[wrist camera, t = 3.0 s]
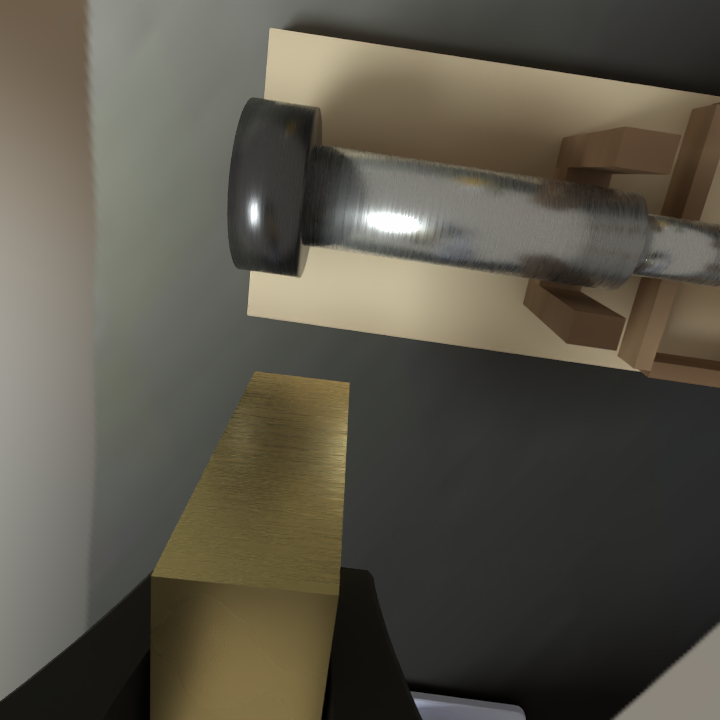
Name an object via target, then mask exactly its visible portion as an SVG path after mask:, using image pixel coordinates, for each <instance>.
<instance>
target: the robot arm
mask: <svg viewBox="0 0 720 720" xmlns="http://www.w3.org/2000/svg"><path fill="white" fill-rule="evenodd" d="M153 571H154V570H153ZM153 571H152V572H151V573H150V574H149V575H148V576H147V577H146V578H145V579H144V580H143V581H141V582H140V583H139V584H138V585H137V586H136V587H135V588H134V589H133V590H132V591H131V592H130V593H129V594H128V595H127V596H125V597H124V598H123V599H122V600H121V601H120V602H119V603H118V604H117V605H116V606H115V607H113V608H112V609H111V610H110V611H109V612H108V613H107V614H106V615H104V616H103V617H102V618H101V619H100V620H99V621H98V622H97V623H95V624H94V625H93V626H92V627H91V628H90V629H89V630H88V631H86V632H85V633H84V634H83V635H82V636H81V637H80V638H78V639H77V640H76V641H75V642H74V643H72V644H71V645H70V646H69V647H68V648H67V649H65V650H64V651H63V652H62V653H60V654H59V655H58V656H57V657H55V658H54V659H53V660H52V661H51V662H49V663H48V664H47V665H46V666H44V667H43V668H42V669H41V670H39V671H38V672H37V673H36V674H34V675H33V676H32V677H31V678H30V679H28V680H27V681H26V682H25V683H23V684H22V685H21V686H19V687H18V688H17V689H16V690H14V691H13V692H12V693H10V694H9V695H8V696H6V697H5V698H4V699H3V700H1V701H0V720H150V646H151V575H152V573H153ZM321 720H526V718H525V714H524V711H523V709H522V708H520V707H519V706H516V705H510V704H503V703H495V702H488V701H480V700H473V699H465V698H457V697H450V696H442V695H435V694H427V693H420V692H412V691H410V690H409V687H408V685H407V682H406V680H405V677H404V675H403V672H402V670H401V667H400V664H399V662H398V659H397V657H396V654H395V652H394V649H393V646H392V643H391V640H390V638H389V635H388V631H387V628H386V625H385V622H384V619H383V616H382V612H381V609H380V606H379V602H378V598H377V594H376V589H375V585H374V578H373V576H372V575H371V574H370V573H369V571H367V570H360V569H352V568H344V567H340V581H339V598H338V605H337V611H336V618H335V625H334V632H333V639H332V646H331V653H330V660H329V667H328V674H327V681H326V688H325V695H324V702H323V709H322V716H321Z"/></svg>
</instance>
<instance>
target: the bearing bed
mask: <svg viewBox="0 0 720 720" xmlns="http://www.w3.org/2000/svg"><path fill="white" fill-rule="evenodd" d="M264 99H268V100H274V101H281V102H288V103H294V104H301V105H307V106H314V107H319V108H320V110H321V116H322V145H326V146H333V147H339V148H346V149H353V150H359V151H366V152H373V153H380V154H386V155H393V156H400V157H406V158H413V159H420V160H426V161H433V162H440V163H446V164H453V165H460V166H467V167H473V168H480V169H487V170H493V171H500V172H507V173H513V174H520V175H527V176H533V177H540V178H547V179H553V180H560V181H567V182H574V183H580V184H587V185H594V186H600V187H607V188H614V189H620V190H627V191H634V192H638V193H640V194H641V195H642V196H643V197H644V199H645V202H646V205H647V211H648V214H654V215H661V216H667V217H674V218H681V219H688V220H694V221H701V222H708V223H714V224H720V97H719V96H712V95H706V94H699V93H693V92H686V91H680V90H673V89H667V88H660V87H653V86H647V85H640V84H634V83H627V82H621V81H614V80H608V79H601V78H595V77H588V76H581V75H575V74H568V73H562V72H555V71H549V70H542V69H536V68H529V67H523V66H516V65H509V64H503V63H496V62H490V61H483V60H477V59H470V58H464V57H457V56H451V55H444V54H438V53H431V52H424V51H418V50H411V49H405V48H398V47H392V46H385V45H379V44H372V43H366V42H359V41H352V40H346V39H339V38H333V37H326V36H320V35H313V34H307V33H300V32H294V31H287V30H281V29H274V28H270V32H269V45H268V57H267V70H266V83H265V95H264ZM247 315H250V316H257V317H264V318H271V319H278V320H285V321H292V322H299V323H305V324H312V325H319V326H326V327H333V328H340V329H347V330H354V331H361V332H368V333H375V334H382V335H389V336H396V337H403V338H410V339H417V340H424V341H431V342H438V343H445V344H451V345H458V346H465V347H472V348H479V349H486V350H493V351H500V352H507V353H514V354H521V355H528V356H535V357H542V358H549V359H556V360H563V361H570V362H577V363H584V364H591V365H597V366H604V367H611V368H618V369H625V370H632V371H639V372H642V373H643V374H645V375H646V376H647V377H650V378H657V379H663V380H670V381H677V382H684V383H691V384H698V385H705V386H712V387H719V388H720V286H717V287H710V286H703V285H696V284H690V283H683V282H676V281H669V280H662V279H655V278H649V277H642V276H635V275H631V276H630V277H629V279H628V280H627V281H626V282H625V283H624V284H623V285H622V286H621V287H620V288H618V289H616V290H604V289H597V288H590V287H583V286H577V285H570V284H563V283H556V282H549V281H542V280H536V279H529V278H522V277H515V276H508V275H501V274H494V273H488V272H481V271H474V270H467V269H460V268H453V267H447V266H440V265H433V264H426V263H419V262H412V261H406V260H399V259H392V258H385V257H378V256H371V255H365V254H358V253H351V252H344V251H337V250H330V249H324V248H317V247H310V248H309V253H308V258H307V262H306V265H305V269H304V272H303V274H302V276H301V277H300V278H298V277H291V276H284V275H277V274H270V273H263V272H257V271H251V273H250V286H249V299H248V311H247Z"/></svg>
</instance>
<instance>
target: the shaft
mask: <svg viewBox="0 0 720 720" xmlns="http://www.w3.org/2000/svg"><path fill="white" fill-rule="evenodd" d="M227 216H228V238H229V246H230V252H231V256H232V260H233V262H234V265H235V266H236V267H237V268H238V269H243V270H250V271H257V272H263V273H270V274H277V275H284V276H291V277H298V278H300V277H301V276H302V274H303V272H304V269H305V265H306V262H307V258H308V253H309V248H310V247H317V248H324V249H330V250H337V251H344V252H351V253H358V254H365V255H371V256H378V257H385V258H392V259H399V260H406V261H412V262H419V263H426V264H433V265H440V266H447V267H453V268H460V269H467V270H474V271H481V272H488V273H494V274H501V275H508V276H515V277H522V278H529V279H536V280H542V281H549V282H556V283H563V284H570V285H577V286H583V287H590V288H597V289H604V290H616V289H618V288H620V287H621V286H622V285H623V284H624V283H625V282H626V281H627V280H628V279H629V277H630V276H631V275H635V276H642V277H649V278H655V279H662V280H669V281H676V282H683V283H690V284H696V285H703V286H710V287H717V286H720V224H714V223H708V222H701V221H694V220H688V219H681V218H674V217H667V216H661V215H654V214H648V211H647V205H646V202H645V199H644V197H643V196H642V195H641V194H640V193H638V192H634V191H627V190H620V189H614V188H607V187H600V186H594V185H587V184H580V183H574V182H567V181H560V180H553V179H547V178H540V177H533V176H527V175H520V174H513V173H507V172H500V171H493V170H487V169H480V168H473V167H467V166H460V165H453V164H446V163H440V162H433V161H426V160H420V159H413V158H406V157H400V156H393V155H386V154H380V153H373V152H366V151H359V150H353V149H346V148H339V147H333V146H326V145H322V116H321V110H320V108H319V107H314V106H307V105H301V104H294V103H288V102H281V101H274V100H268V99H261V98H254V97H252V98H250V99H249V100H248V101H247V103H246V105H245V107H244V109H243V111H242V114H241V117H240V120H239V123H238V127H237V131H236V135H235V140H234V146H233V151H232V158H231V165H230V174H229V186H228V212H227Z"/></svg>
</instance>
